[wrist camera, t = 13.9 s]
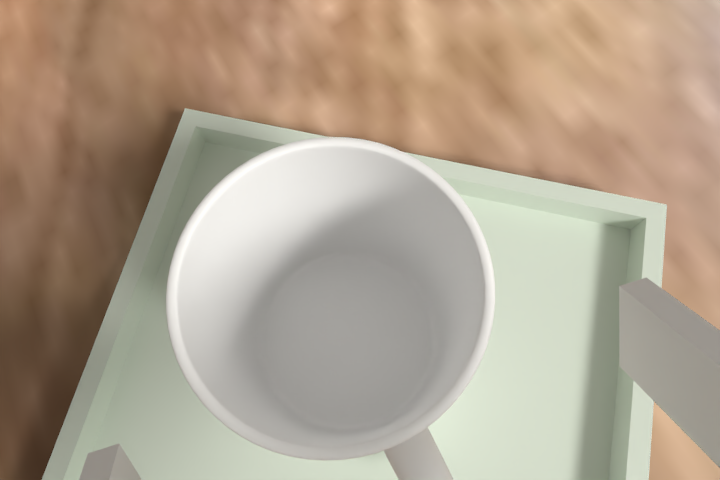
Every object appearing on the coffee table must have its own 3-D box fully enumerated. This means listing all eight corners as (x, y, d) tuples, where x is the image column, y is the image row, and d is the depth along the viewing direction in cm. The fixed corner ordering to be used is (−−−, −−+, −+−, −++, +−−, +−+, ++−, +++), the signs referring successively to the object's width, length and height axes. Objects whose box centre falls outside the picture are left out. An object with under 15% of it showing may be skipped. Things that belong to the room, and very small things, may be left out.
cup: (388, 216, 25) (396, 89, 15) (529, 466, 21) (659, 509, 12) (223, 297, 24) (118, 217, 14) (343, 573, 20) (315, 718, 11)
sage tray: (42, 565, 22) (1, 584, 19) (201, 134, 27) (185, 108, 25) (597, 731, 19) (628, 774, 17) (639, 224, 25) (666, 204, 23)
